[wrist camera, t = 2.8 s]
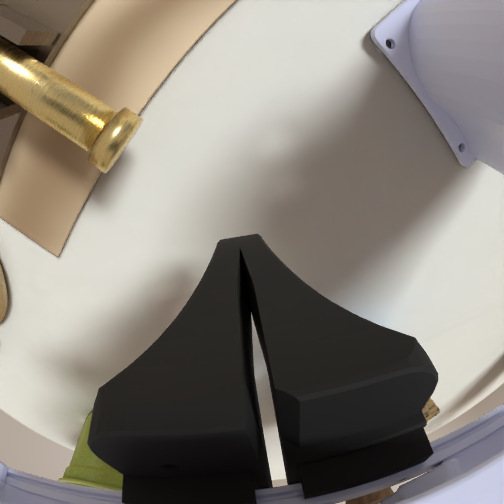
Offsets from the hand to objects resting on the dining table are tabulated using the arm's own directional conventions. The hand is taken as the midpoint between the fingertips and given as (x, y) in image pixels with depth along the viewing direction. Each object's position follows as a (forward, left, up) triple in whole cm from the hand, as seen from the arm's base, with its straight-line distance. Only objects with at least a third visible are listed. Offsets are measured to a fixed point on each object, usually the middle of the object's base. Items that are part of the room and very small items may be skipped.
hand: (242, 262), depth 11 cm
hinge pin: (+12, 0, -4) cm, 13 cm away
